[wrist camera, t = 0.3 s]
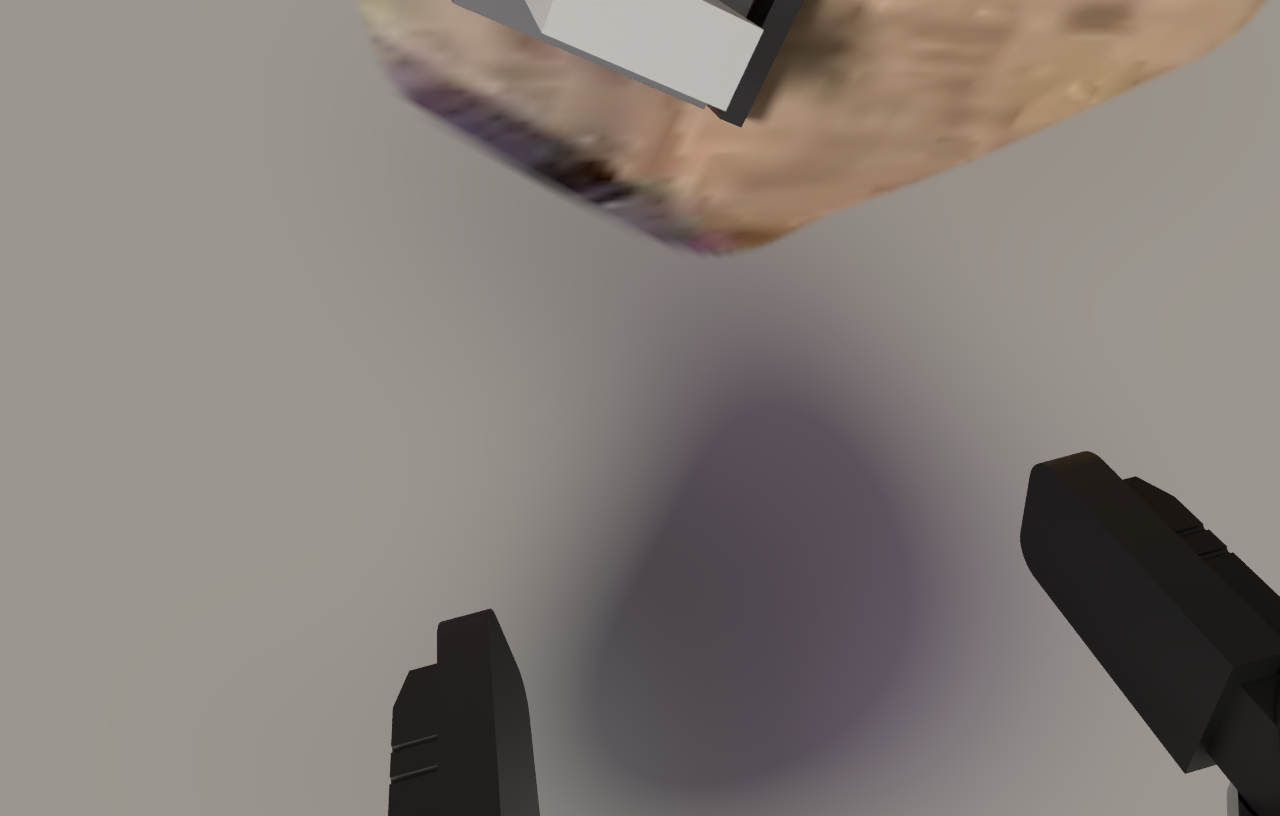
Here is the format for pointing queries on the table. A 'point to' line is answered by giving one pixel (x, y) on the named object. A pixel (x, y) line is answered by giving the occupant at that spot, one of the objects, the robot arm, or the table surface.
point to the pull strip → (645, 39)
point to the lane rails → (760, 55)
